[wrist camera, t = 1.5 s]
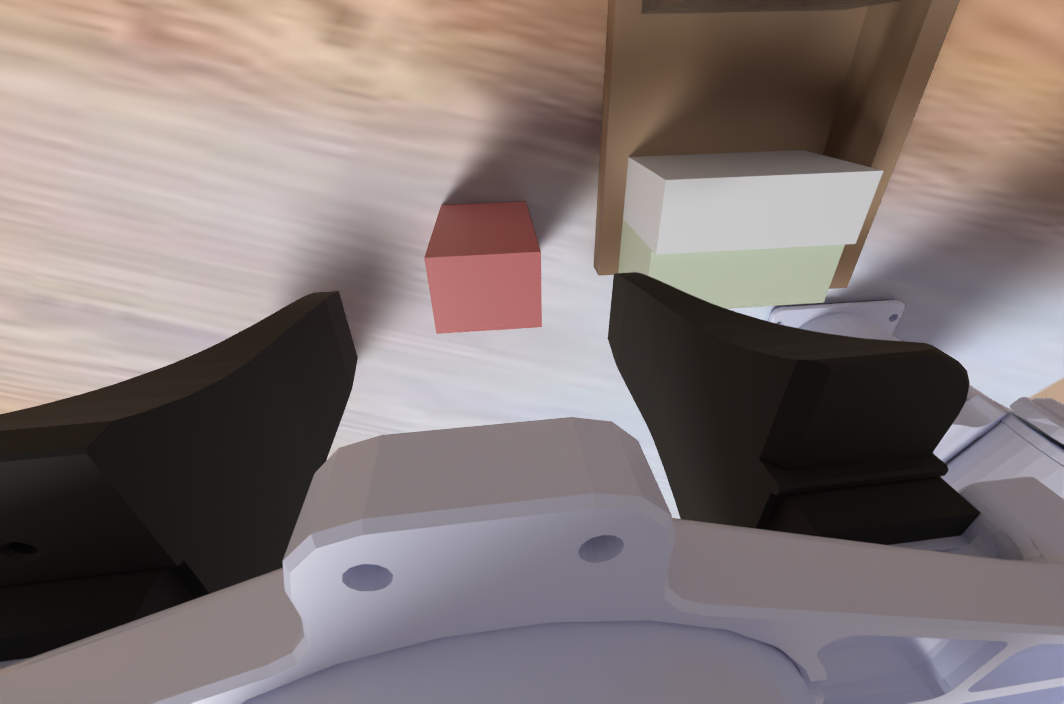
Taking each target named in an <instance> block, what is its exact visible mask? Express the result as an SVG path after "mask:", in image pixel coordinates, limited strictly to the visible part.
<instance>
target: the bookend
mask: <svg viewBox="0 0 1064 704" xmlns="http://www.w3.org/2000/svg"><path fill="white" fill-rule="evenodd" d="M896 1H903V0H642V10H641V14H672V13H724V12H776V11H829V10H847V9H853V8H860V7H866V6H872V5H878V4H884V3H890V2H896Z"/></svg>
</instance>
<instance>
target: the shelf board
mask: <svg viewBox="0 0 1064 704" xmlns="http://www.w3.org/2000/svg"><path fill="white" fill-rule="evenodd" d="M959 1H960V0H903V1H896V2H890V3H884V4H878V5H872V6H866V7H860V8H853V9H847V10H829V11H776V12H724V13H672V14H641V10H642V0H609V3H608V21H607V39H606V56H605V74H604V92H603V110H602V128H601V145H600V163H599V181H598V199H597V217H596V235H595V252H594V268H595V270H596V272H597V273H598V275H614V274H615V273H618V270H619V259H620V247H621V236H622V225H623V213H624V202H625V191H626V179H627V168H628V157H640V156H665V155H690V154H716V153H741V152H766V151H791V150H805V151H809V152H813V153H817V154H821V155H824V156H828V157H832V158H836V159H840V160H844V161H848V162H852V163H856V164H860V165H863V166H867V167H871V168H875V169H879V170H883V174H882V176H881V179H880V181H879V184H878V187H877V189H876V192H875V195H874V197H873V200H872V202H871V205H870V208H869V210H868V213H867V215H866V218H865V221H864V223H863V226H862V229H861V231H860V234H859V236H858V239H857V242H856V244H845V246H844V249H843V252H842V254H841V257H840V260H839V262H838V265H837V268H836V271H835V273H834V276H833V279H832V281H831V284H830V287H829V289H832V288H847V286H848V284H849V281H850V278H851V276H852V273H853V271H854V268H855V266H856V263H857V261H858V258H859V256H860V253H861V251H862V248H863V245H864V243H865V240H866V238H867V235H868V233H869V230H870V228H871V225H872V223H873V220H874V217H875V215H876V212H877V210H878V207H879V205H880V202H881V200H882V197H883V195H884V192H885V189H886V187H887V184H888V182H889V179H890V177H891V174H892V172H893V169H894V167H895V164H896V161H897V159H898V156H899V154H900V151H901V149H902V146H903V144H904V141H905V139H906V136H907V134H908V131H909V128H910V126H911V123H912V121H913V118H914V116H915V113H916V111H917V108H918V106H919V103H920V100H921V98H922V95H923V93H924V90H925V88H926V85H927V83H928V80H929V78H930V75H931V72H932V70H933V67H934V65H935V62H936V60H937V57H938V55H939V52H940V50H941V47H942V45H943V42H944V39H945V37H946V34H947V32H948V29H949V27H950V24H951V22H952V19H953V17H954V14H955V11H956V9H957V6H958V4H959Z"/></svg>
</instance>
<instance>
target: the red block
mask: <svg viewBox="0 0 1064 704" xmlns="http://www.w3.org/2000/svg"><path fill="white" fill-rule="evenodd" d="M425 264H426V271H427V277H428V283H429V289H430V296H431V302H432V308H433V314H434V321H435V327H436V333H437V334H438V333H454V332H470V331H486V330H501V329H517V328H533V327H542V314H541V251H540V248H539V244H538V241H537V238H536V234H535V231H534V228H533V225H532V221H531V218H530V215H529V211H528V208H527V205H526V201H518V202H496V203H474V204H452V205H441V208H440V211H439V214H438V217H437V220H436V223H435V226H434V230H433V233H432V236H431V239H430V242H429V245H428V248H427V251H426V255H425Z"/></svg>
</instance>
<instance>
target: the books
mask: <svg viewBox="0 0 1064 704" xmlns="http://www.w3.org/2000/svg"><path fill="white" fill-rule="evenodd" d="M882 174H883V170H879V169H875V168H871V167H867V166H863V165H860V164H856V163H852V162H848V161H844V160H840V159H836V158H832V157H828V156H824V155H821V154H817V153H813V152H809V151H805V150H791V151H766V152H741V153H716V154H690V155H665V156H640V157H628V168H627V179H626V191H625V202H624V213H623V225H622V236H621V247H620V259H619V270H618V273H630V272H638V273H642V274H645V275H647V276H650V277H652V278H655V279H657V280H659V281H661V282H664V283H666V284H668V285H670V286H672V287H675V288H677V289H679V290H681V291H683V292H686V293H688V294H690V295H692V296H695V297H697V298H700V299H702V300H704V301H707V302H710V303H712V304H715V305H717V306H720V307H722V308H725V309H729V308H745V307H761V306H777V305H793V304H809V303H824V300H825V298H826V295H827V292H828V289H829V287H830V284H831V281H832V279H833V276H834V273H835V271H836V268H837V265H838V262H839V260H840V257H841V254H842V252H843V249H844V246H845V244H856V242H857V239H858V236H859V234H860V231H861V229H862V226H863V223H864V221H865V218H866V215H867V213H868V210H869V208H870V205H871V202H872V200H873V197H874V195H875V192H876V189H877V187H878V184H879V181H880V179H881V176H882Z"/></svg>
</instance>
